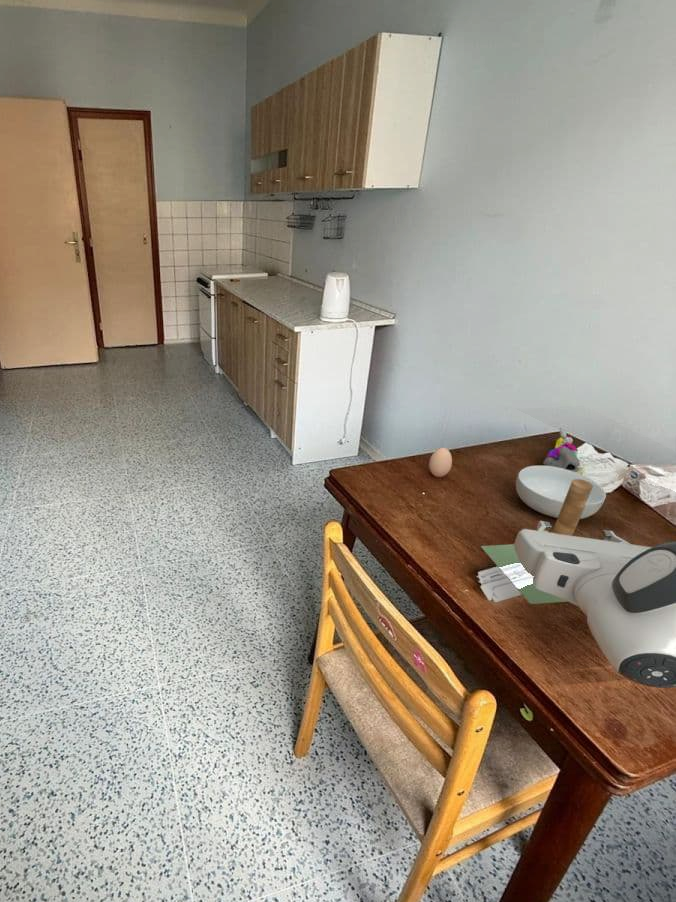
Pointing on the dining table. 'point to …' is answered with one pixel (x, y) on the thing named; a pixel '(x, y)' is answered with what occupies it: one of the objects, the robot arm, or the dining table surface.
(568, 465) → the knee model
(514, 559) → the mat
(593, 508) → the cereal bowl
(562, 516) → the dish brush
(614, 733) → the dining table surface
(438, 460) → the egg
